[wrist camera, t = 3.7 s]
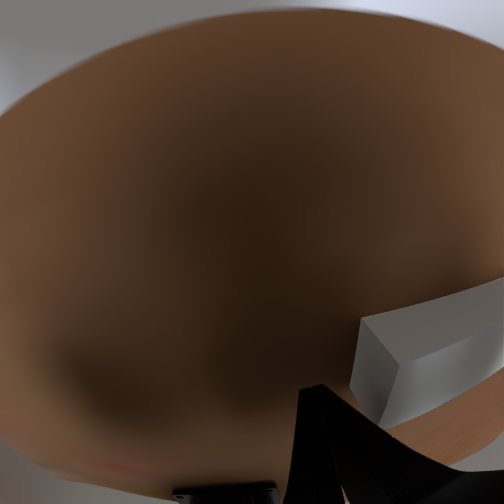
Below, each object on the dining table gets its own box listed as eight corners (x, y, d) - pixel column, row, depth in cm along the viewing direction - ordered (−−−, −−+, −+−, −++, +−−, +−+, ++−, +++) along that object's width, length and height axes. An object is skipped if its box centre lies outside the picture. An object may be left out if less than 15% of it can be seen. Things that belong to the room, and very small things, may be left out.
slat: (506, 318, 12) (535, 340, 9) (346, 382, 10) (374, 433, 8) (520, 266, 10) (555, 286, 8) (357, 313, 9) (399, 365, 6)
